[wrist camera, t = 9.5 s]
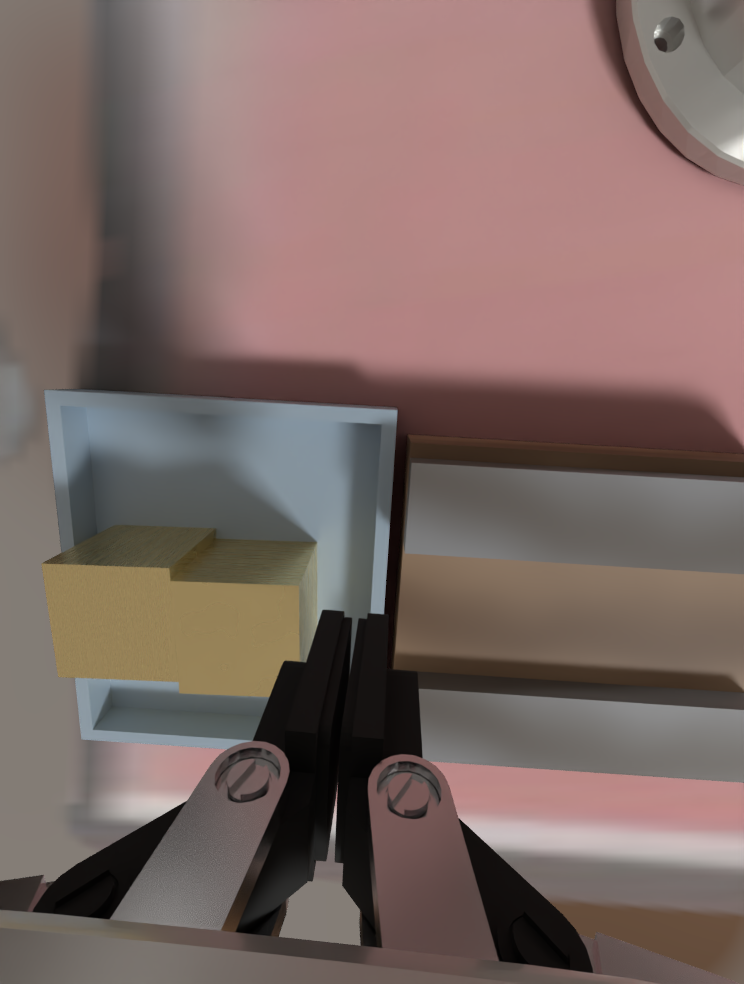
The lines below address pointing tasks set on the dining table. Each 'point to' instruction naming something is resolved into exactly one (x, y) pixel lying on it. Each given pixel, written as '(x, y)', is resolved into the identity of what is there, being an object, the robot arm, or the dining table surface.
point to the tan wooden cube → (119, 601)
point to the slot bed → (574, 606)
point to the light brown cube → (243, 615)
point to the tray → (222, 516)
